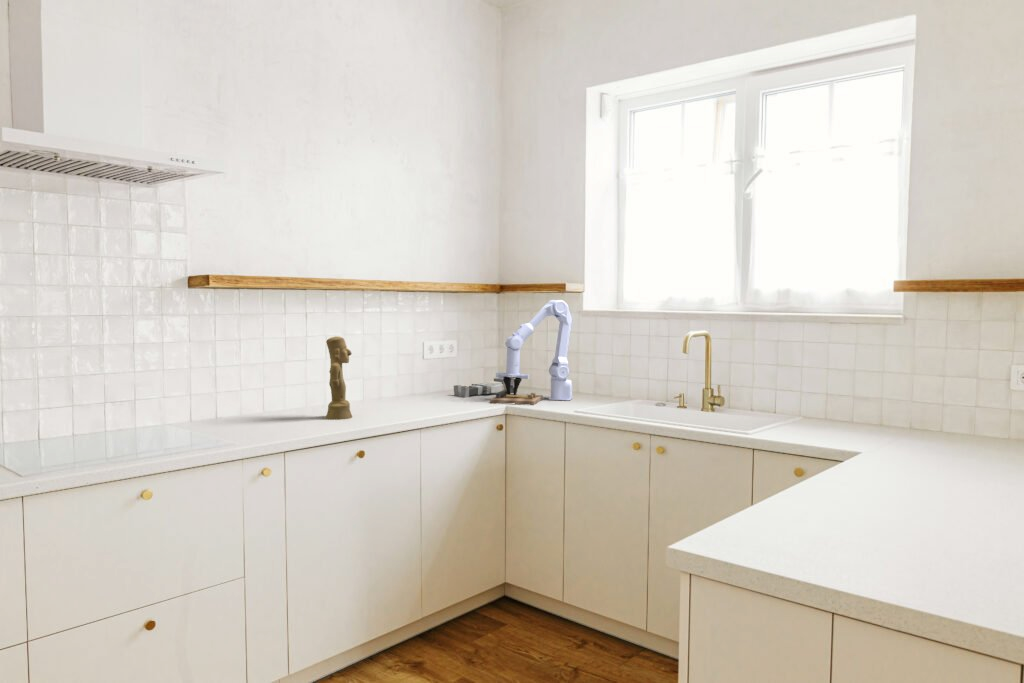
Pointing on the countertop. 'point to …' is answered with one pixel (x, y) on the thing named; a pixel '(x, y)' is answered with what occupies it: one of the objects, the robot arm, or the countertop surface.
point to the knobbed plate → (511, 389)
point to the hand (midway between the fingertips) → (511, 394)
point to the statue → (338, 379)
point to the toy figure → (482, 388)
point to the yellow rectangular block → (517, 395)
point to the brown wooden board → (516, 398)
